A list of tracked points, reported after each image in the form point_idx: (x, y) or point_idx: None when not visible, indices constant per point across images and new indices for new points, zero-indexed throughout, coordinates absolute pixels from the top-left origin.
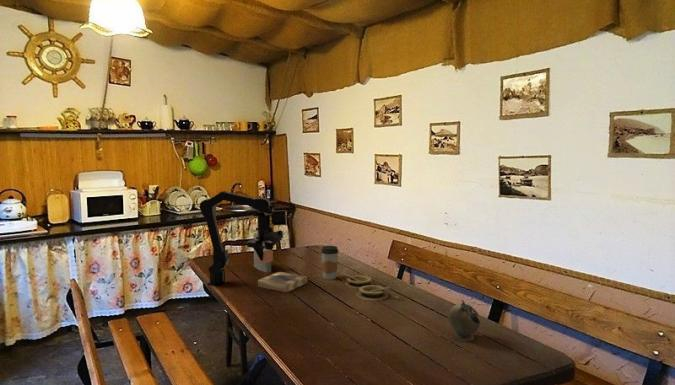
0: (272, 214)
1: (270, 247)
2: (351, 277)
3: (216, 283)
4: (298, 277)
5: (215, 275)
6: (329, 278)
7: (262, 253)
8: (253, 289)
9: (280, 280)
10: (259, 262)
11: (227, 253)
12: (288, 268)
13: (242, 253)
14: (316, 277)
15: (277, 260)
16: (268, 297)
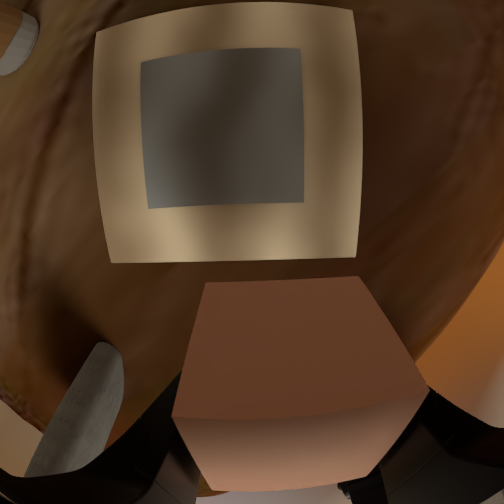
0: None
1: (163, 482)
2: None
3: None
4: (139, 51)
5: None
6: (35, 20)
7: (426, 401)
8: (393, 228)
9: (291, 95)
10: (112, 413)
11: (375, 499)
12: (26, 303)
13: None
14: (28, 90)
15: (28, 379)
16: (446, 82)
